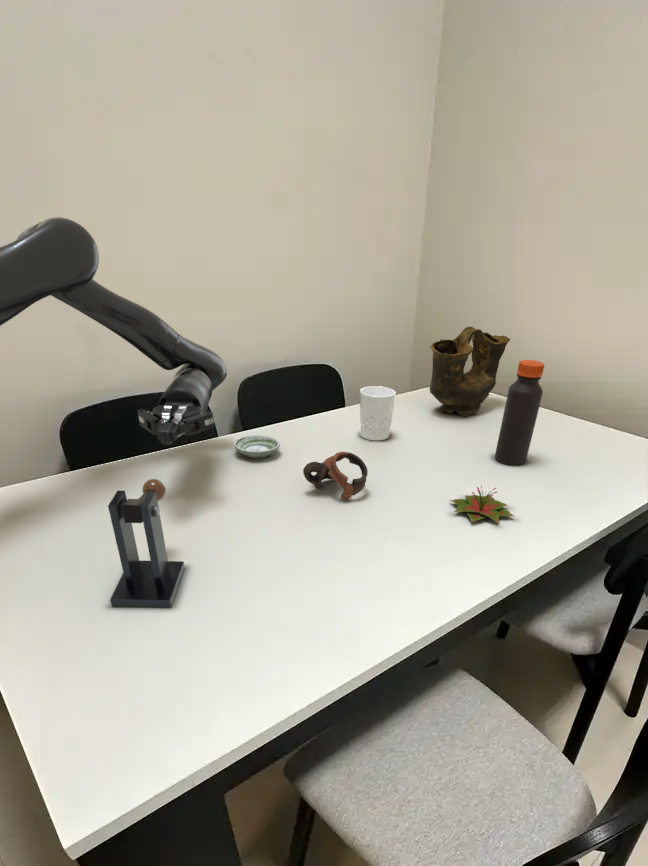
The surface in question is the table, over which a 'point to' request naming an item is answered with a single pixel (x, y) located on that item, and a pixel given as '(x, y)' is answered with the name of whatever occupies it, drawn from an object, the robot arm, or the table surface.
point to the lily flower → (481, 507)
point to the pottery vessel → (449, 373)
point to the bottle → (520, 414)
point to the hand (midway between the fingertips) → (165, 438)
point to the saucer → (257, 445)
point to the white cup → (376, 412)
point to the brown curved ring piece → (337, 473)
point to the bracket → (143, 578)
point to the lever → (133, 505)
